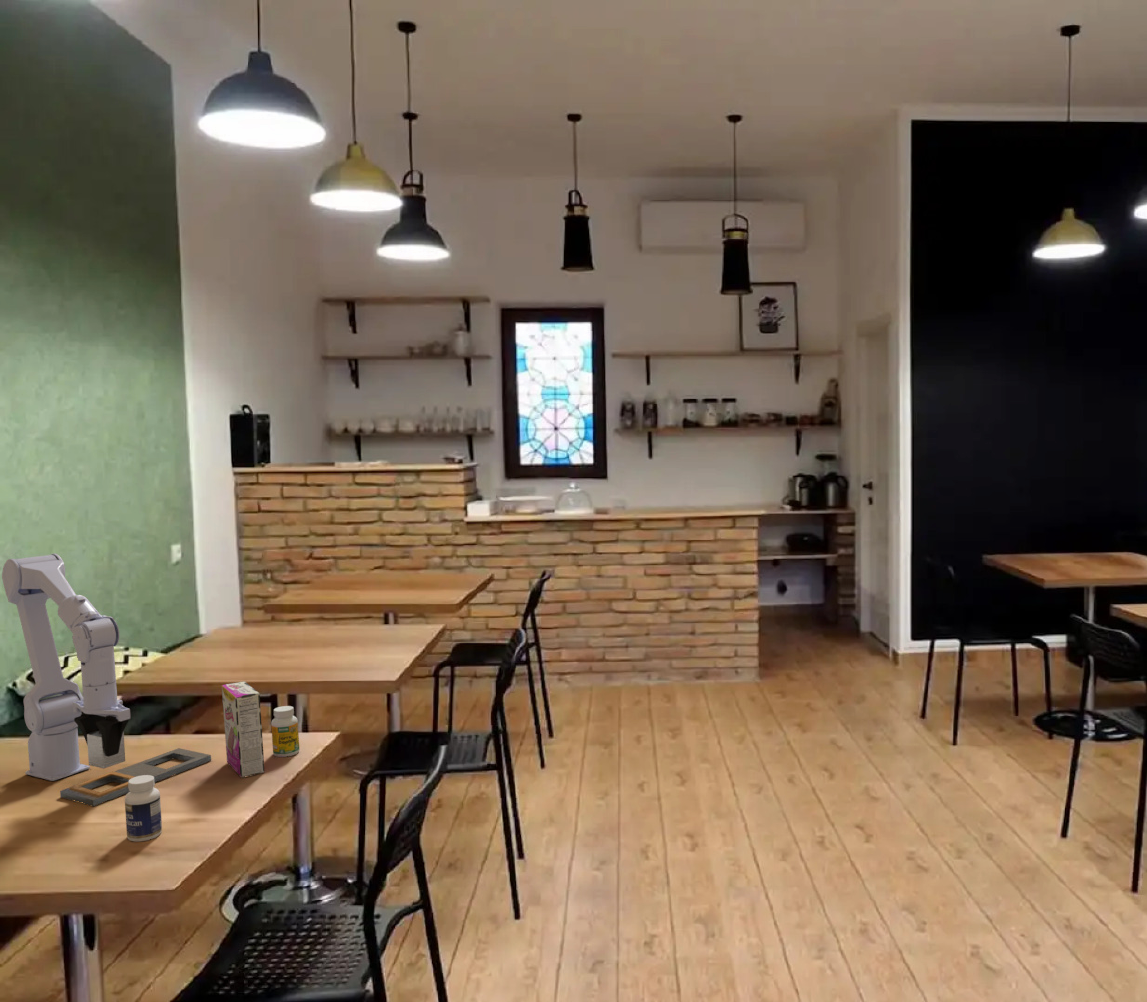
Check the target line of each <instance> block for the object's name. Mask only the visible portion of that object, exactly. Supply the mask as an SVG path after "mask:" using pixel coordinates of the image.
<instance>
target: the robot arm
mask: <svg viewBox="0 0 1147 1002" xmlns="http://www.w3.org/2000/svg"><path fill="white" fill-rule="evenodd" d="M1 579H2V583H3V587H4V592H5V595H6V597H7V601H8V603H11V604H13V605H16V608H17V613H18V617H19V620H20V624H21V629H22V633H23V636H24V641H25V645H26V649H27V654H28V657H29V661H30V665H31V670H32V674H33V678H34V682H35V685H34V686H33V687H32V688H31V689H30V690H29V691H28V692H27V693H26V694H25V696H24V697H23V706H24V707H23V708H24V710H23V711H24V713H23V715H24V722H25V724H26V727H27V729H28V730H29V731H31V734H30V735H29V737H28V740H27V751H28V764H29V765H28V766H29V770H26V771H25V775H28V776H32V777H35V778H39V779H44V780H47V781H50V782H55V781H57V780H60V779H63V778H67V777H68V776H69V777H70V776H71V775H74V774H77V773H80V772H83V771H86V770H89V769H90V765H89V764H88V765H87V764H83V763H81V761H80V759H81V758H80V747H79V734H78V733H79V732H78V728H79V730H80V731H81V733H82V735H83V737H84V740H85V743H86V745H87V746H86V747H88V744H87V734H89V733H92V732H96V731H99V730H100V732H101V735H102V738H103V743H104V749H105V753H106V756H108V757H109V756H112V755H115V754H118V753H119V748H120V743H121V738H122V735H123V732H124V731H125V729H126V727H127V725H128V723H129V721H130V719H131V709H130V708H128V707H125V706H124V705H123V703H124V702H123V700H122V699H118V690H117V676H116V660H115V647H116V646H118V643H119V641H120V629H119V626H118V624H117V623H118V622H117V621H116V620H115V618H114V617H112V616H110V615H109V616H107V615H105V614H103V615H102V614H100V612H99V611H98V610H97V609H96V608H95V606H94V605H93V604H92V602H91V601H90V600H89V599H88V598H87V597H86V596H84V595H81V594H76V592H75V590H74V589H73V588H72V586H71V584H70V583H69V582H68V580H67V578H66V567H65V563H64V560H63V559H62V557H61V556H60V555H59V554H58V553H50V554H46V555H37V556H30V557H22V558H8V559H7V560H6V561H5V563H4V564H3V567H2V573H1ZM49 599H51V600H52V602H54V603H55V604H56V605H57V606H58V608H57V615H58V616H59V618H60V620H61V621H62V622H63V624H65V625H66V627H67V628H68V629H69V631H70V632H71V633H72V637H71V638H72V643H73V646H74V649H75V652H76V657H77V661H79V662H80V670H81V671H80V672H81V687H82V692H81V690H80V687H79V685H78V683H76V682H74V681H71V680H69V679H67V678H65V677H64V675H63V671H62V667H61V662H60V659H59V654H58V650H57V647H56V642H55V638H54V634H53V631H52V626H51V622H50V618H49V615H48V610H47V607H46V606H47V605H46V603H47V602H48V600H49ZM124 733H125V732H124Z"/></svg>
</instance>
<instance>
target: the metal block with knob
mask: <svg viewBox="0 0 1147 1002" xmlns="http://www.w3.org/2000/svg"><path fill="white" fill-rule="evenodd" d="M87 744H88V746H87V757H88V759H87V760H88V766H91V767H96V768H99V769H103V770H104V769H106V768H111V767H113V766H116V765H118V764H121V763H123V762H126V750H125V747H126V746H125V732H123V735H122V738H121V743H120V748H119V753H118V754H115V755H112V756H109V757H108V756H106V753H105V749H104V743H103V738H102V735H101V732H100V730H99V731H96V732H92V733H89V734H87V743H86V745H87Z"/></svg>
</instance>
